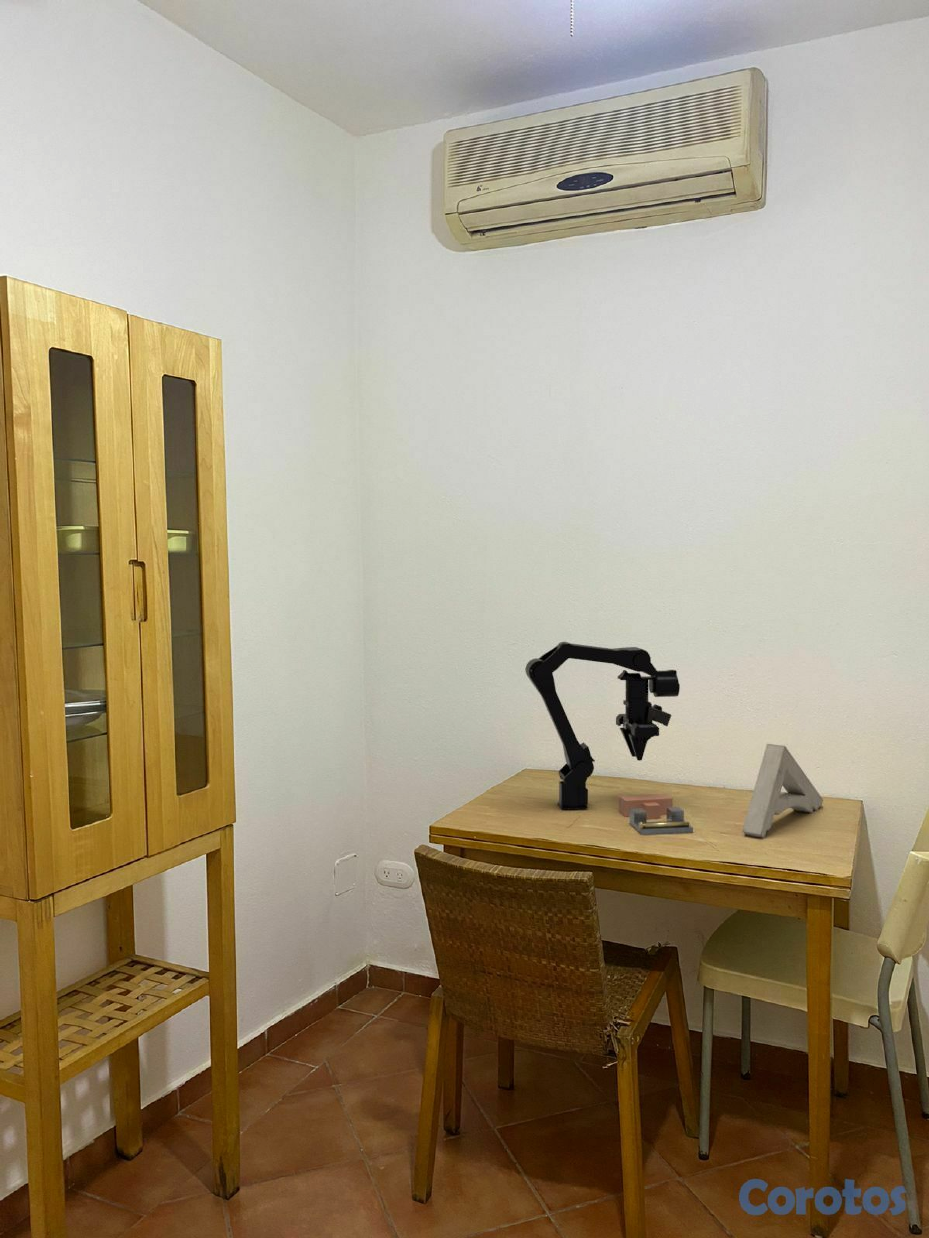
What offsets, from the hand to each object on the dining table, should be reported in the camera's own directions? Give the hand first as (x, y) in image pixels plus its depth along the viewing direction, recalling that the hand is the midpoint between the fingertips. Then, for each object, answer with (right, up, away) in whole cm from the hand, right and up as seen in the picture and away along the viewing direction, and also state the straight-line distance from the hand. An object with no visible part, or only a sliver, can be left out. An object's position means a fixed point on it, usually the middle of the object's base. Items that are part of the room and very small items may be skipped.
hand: (636, 758), depth 251 cm
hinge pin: (+2, -14, -24) cm, 28 cm away
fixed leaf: (+2, -13, -22) cm, 26 cm away
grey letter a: (+33, -13, -15) cm, 38 cm away
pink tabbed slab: (+1, -13, -9) cm, 15 cm away
